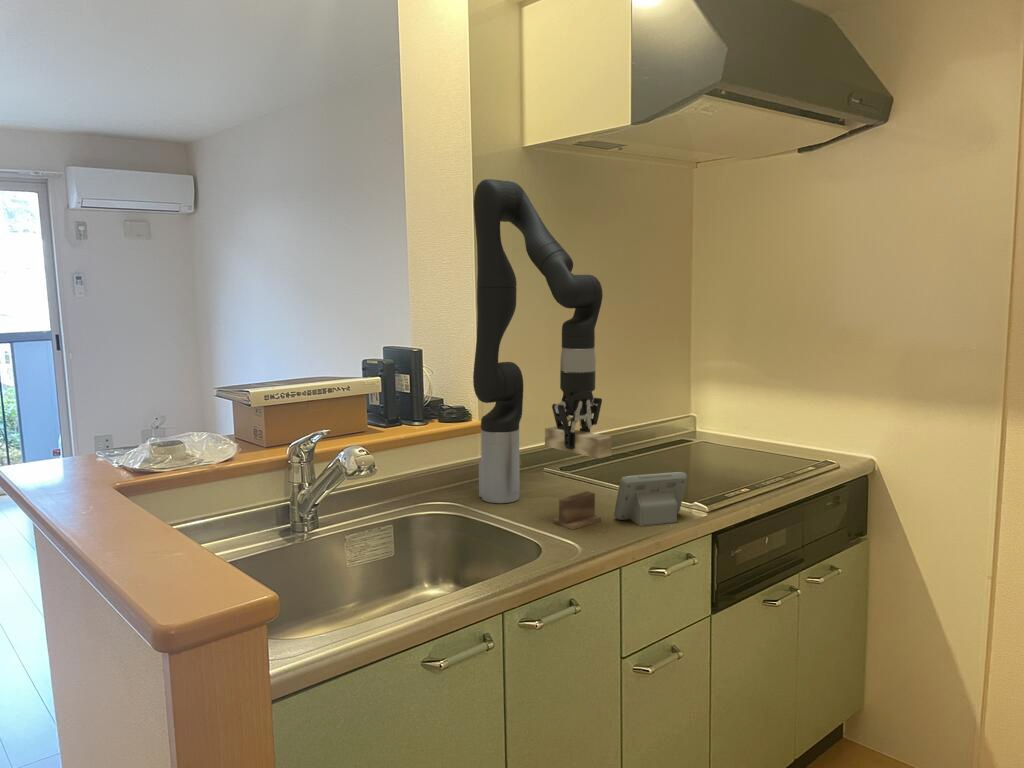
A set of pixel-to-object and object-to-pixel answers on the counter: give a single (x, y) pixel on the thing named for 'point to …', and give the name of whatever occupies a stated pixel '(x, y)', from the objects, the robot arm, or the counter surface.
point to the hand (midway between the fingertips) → (577, 446)
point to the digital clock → (650, 498)
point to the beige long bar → (580, 442)
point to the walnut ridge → (577, 511)
